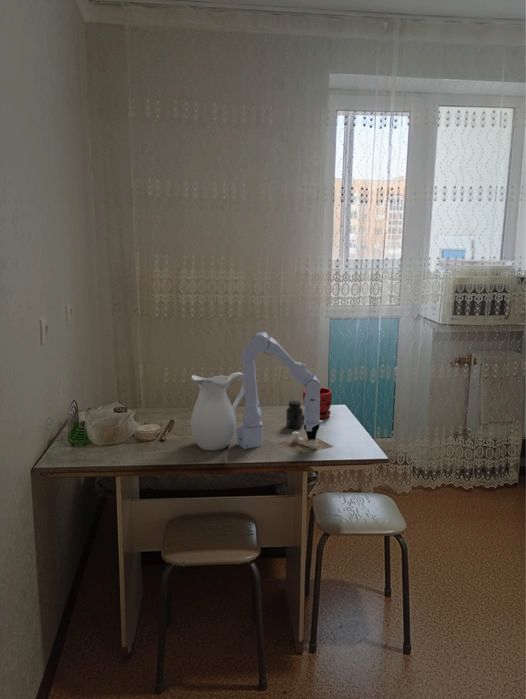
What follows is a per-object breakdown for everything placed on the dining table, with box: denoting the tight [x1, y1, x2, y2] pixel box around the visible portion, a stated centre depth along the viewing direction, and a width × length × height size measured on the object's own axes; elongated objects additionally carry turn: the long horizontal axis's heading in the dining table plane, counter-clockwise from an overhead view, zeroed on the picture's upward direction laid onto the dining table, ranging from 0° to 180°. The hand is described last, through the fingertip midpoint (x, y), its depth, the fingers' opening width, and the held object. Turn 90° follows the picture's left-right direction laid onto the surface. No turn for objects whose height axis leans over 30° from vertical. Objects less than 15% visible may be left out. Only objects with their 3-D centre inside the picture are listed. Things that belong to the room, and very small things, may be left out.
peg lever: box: [291, 431, 318, 449], centre depth 200 cm, size 12×3×3 cm, turn 43°
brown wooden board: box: [279, 436, 334, 455], centre depth 201 cm, size 16×14×1 cm
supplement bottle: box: [285, 400, 304, 430], centre depth 221 cm, size 7×7×12 cm
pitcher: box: [190, 371, 245, 451], centre depth 203 cm, size 24×17×28 cm
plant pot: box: [302, 387, 333, 419], centre depth 241 cm, size 13×13×12 cm
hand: (311, 443), depth 200 cm, fingers closed, pressing on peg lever
